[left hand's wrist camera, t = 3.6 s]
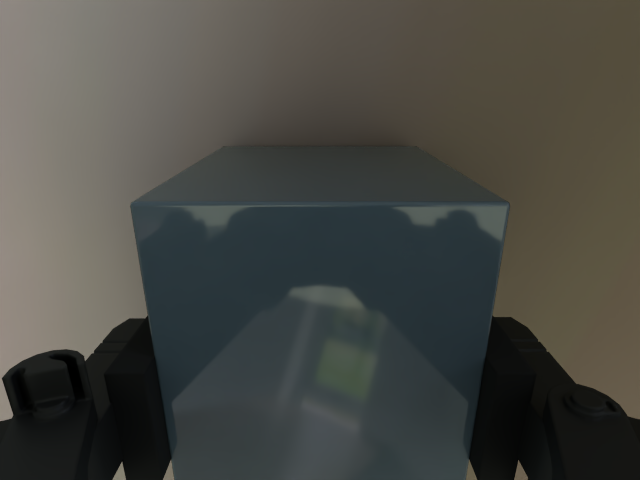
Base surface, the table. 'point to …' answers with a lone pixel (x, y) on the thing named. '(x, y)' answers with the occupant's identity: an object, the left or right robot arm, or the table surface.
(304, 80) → the table surface
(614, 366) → the table surface
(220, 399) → the brick
